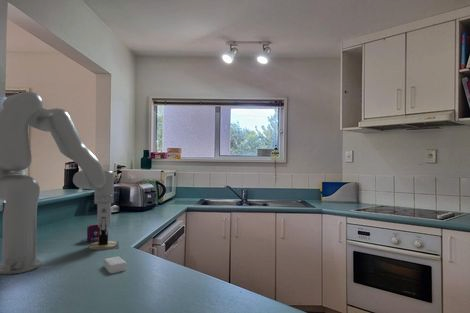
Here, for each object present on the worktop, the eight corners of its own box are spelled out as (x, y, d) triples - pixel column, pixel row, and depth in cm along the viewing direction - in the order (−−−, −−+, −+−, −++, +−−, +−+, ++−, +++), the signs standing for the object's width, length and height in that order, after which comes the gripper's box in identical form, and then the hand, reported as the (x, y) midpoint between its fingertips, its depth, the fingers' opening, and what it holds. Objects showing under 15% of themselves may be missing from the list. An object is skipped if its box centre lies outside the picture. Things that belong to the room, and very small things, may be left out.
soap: (127, 271, 105) (127, 262, 105) (110, 274, 101) (110, 265, 102) (119, 264, 112) (119, 255, 112) (103, 267, 109) (103, 258, 109)
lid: (117, 248, 129) (117, 234, 129) (88, 250, 125) (88, 236, 125) (116, 241, 139) (117, 228, 140) (89, 244, 135) (89, 230, 136)
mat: (119, 249, 129) (119, 248, 129) (87, 252, 125) (87, 251, 125) (118, 242, 140) (118, 241, 140) (89, 244, 136) (89, 244, 136)
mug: (87, 243, 138) (87, 228, 138) (86, 238, 147) (86, 224, 147) (103, 242, 141) (103, 226, 141) (101, 237, 150) (102, 223, 150)
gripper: (113, 201, 126) (113, 247, 126) (113, 197, 142) (112, 237, 142) (93, 202, 124) (92, 248, 123) (95, 197, 139) (94, 239, 139)
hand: (103, 242), depth 132 cm, fingers closed on lid, 3 cm apart
